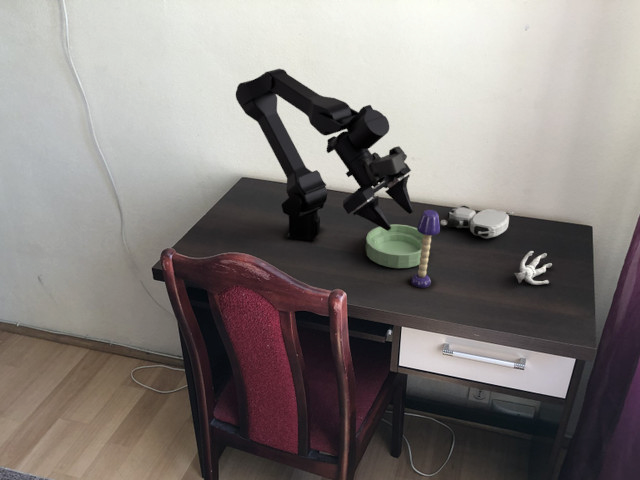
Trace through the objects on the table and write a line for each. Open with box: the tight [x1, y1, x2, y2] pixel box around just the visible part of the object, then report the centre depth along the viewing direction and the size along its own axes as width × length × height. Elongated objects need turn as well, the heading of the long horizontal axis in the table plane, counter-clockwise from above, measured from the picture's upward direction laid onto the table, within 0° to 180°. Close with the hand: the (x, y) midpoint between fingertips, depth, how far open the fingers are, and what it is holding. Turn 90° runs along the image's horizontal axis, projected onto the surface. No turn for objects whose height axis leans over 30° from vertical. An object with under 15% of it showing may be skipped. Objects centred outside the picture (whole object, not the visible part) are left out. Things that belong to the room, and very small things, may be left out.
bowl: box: [365, 223, 424, 269], centre depth 157 cm, size 14×14×4 cm
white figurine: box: [513, 250, 553, 286], centre depth 149 cm, size 8×5×12 cm
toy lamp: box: [410, 209, 441, 289], centre depth 143 cm, size 5×5×17 cm
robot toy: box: [440, 205, 515, 239], centre depth 167 cm, size 12×4×15 cm
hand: (400, 221), depth 143 cm, fingers open, 9 cm apart
